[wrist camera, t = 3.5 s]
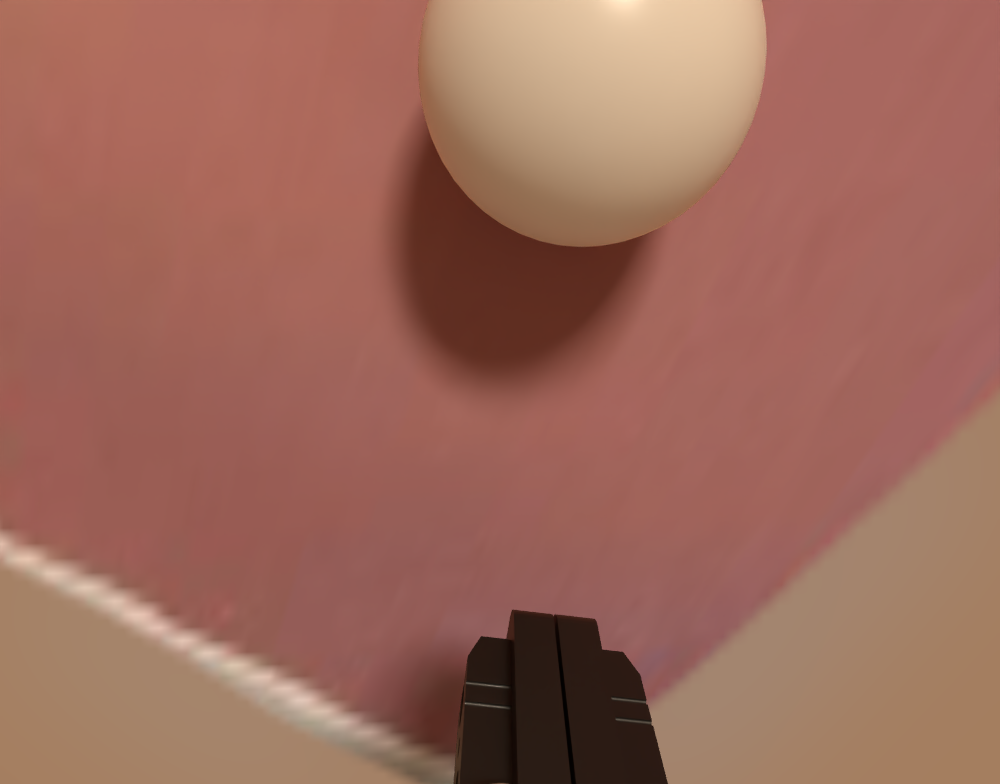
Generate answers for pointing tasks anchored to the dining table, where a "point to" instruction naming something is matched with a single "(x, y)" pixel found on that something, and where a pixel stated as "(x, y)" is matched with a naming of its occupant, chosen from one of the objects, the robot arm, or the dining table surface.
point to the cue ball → (589, 107)
